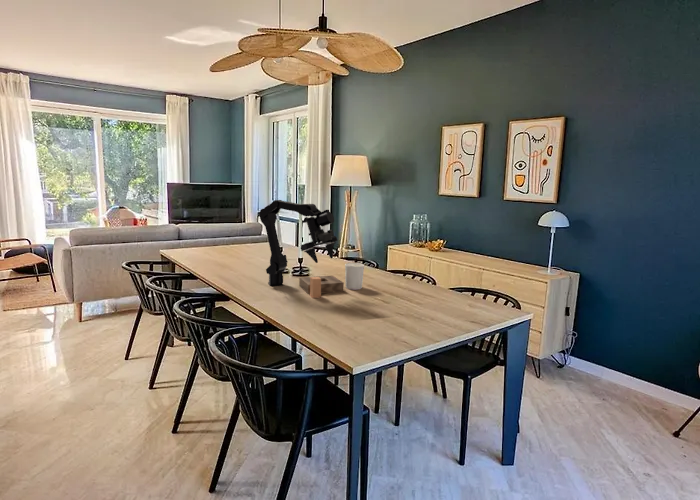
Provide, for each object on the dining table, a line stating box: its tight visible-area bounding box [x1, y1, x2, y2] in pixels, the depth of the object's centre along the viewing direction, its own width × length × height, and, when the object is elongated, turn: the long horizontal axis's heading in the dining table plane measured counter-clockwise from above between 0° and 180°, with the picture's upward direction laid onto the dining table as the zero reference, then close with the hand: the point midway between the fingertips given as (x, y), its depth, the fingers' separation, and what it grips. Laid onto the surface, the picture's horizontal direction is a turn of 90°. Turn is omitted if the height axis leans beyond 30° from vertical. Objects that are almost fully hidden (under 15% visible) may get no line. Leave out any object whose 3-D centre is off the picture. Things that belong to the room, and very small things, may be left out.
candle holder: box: [344, 262, 365, 291], centre depth 223 cm, size 10×10×12 cm
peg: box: [309, 276, 322, 299], centre depth 204 cm, size 4×4×9 cm
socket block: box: [298, 275, 345, 295], centre depth 219 cm, size 18×16×4 cm
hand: (324, 260), depth 209 cm, fingers open, 9 cm apart
